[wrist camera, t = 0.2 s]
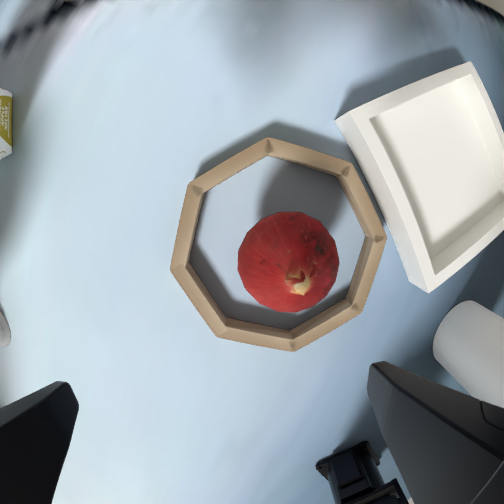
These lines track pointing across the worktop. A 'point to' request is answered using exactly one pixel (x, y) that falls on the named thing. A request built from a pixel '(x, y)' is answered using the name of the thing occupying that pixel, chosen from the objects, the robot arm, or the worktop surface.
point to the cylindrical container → (473, 350)
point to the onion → (288, 261)
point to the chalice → (4, 331)
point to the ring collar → (323, 320)
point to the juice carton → (5, 123)
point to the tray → (433, 169)
